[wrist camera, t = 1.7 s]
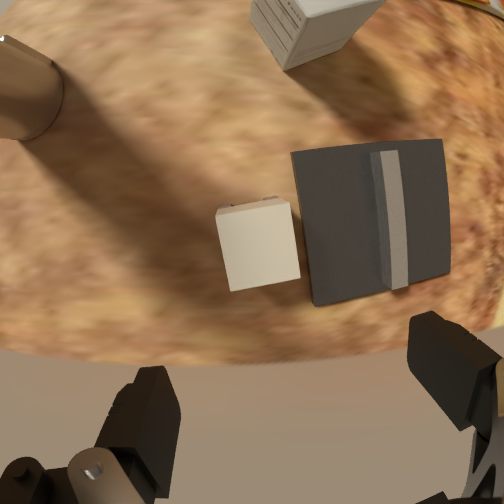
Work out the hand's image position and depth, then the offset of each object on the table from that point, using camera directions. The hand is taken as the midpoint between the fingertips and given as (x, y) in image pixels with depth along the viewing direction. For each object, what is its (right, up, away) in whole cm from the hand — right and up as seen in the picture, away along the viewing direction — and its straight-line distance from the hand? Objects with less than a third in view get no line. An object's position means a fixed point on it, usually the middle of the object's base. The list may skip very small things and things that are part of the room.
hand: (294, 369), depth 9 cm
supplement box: (+3, +26, +18) cm, 32 cm away
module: (-1, +6, +22) cm, 23 cm away
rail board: (+13, +7, +23) cm, 27 cm away
